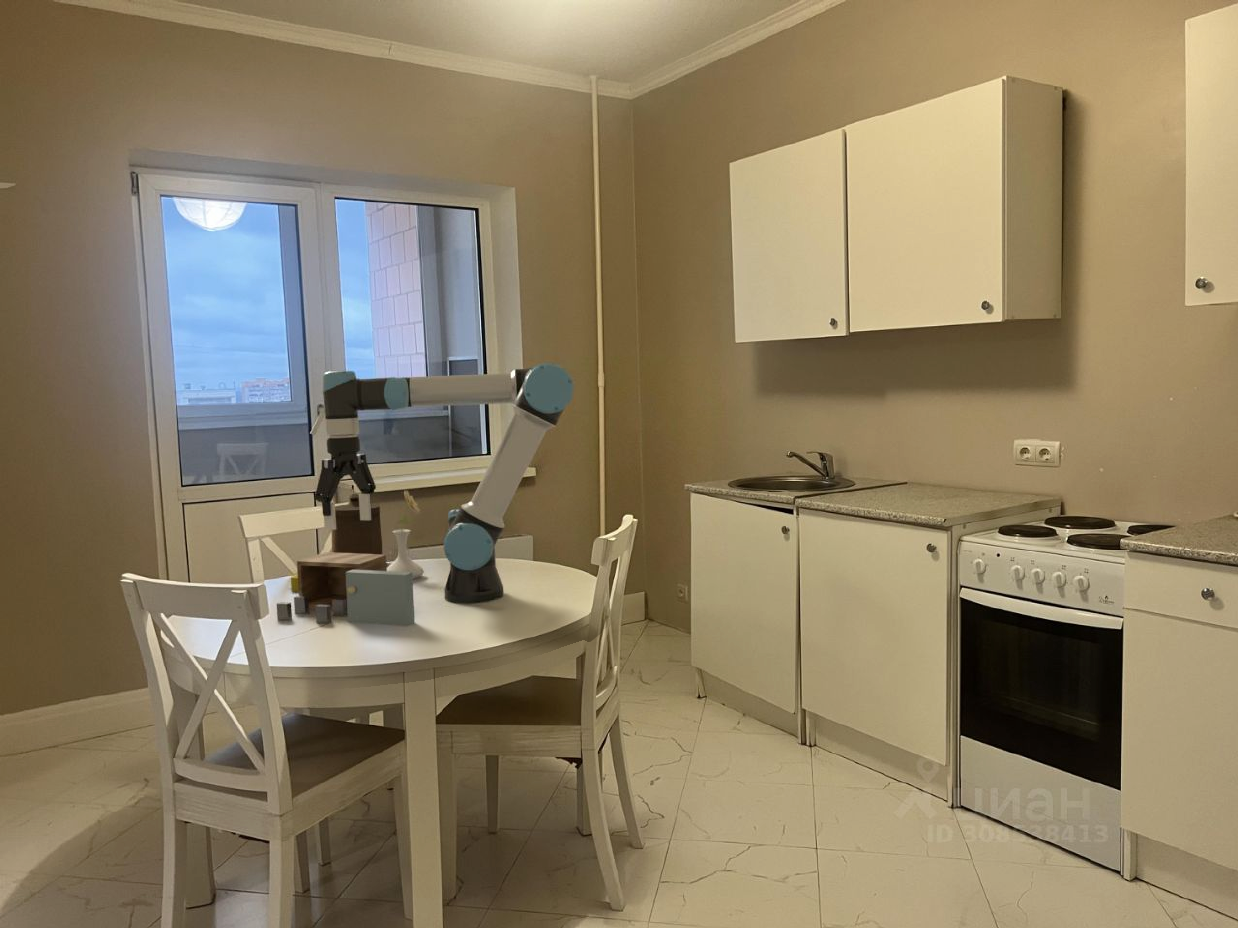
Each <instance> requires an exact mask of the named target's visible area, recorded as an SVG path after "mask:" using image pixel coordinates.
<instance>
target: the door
mask: <svg viewBox="0 0 1238 928" xmlns="http://www.w3.org/2000/svg"><path fill="white" fill-rule="evenodd" d="M413 580H414V578H412V572H393V571H373V570H350V571H347V572H346V590H347V609H348V611H347V622H348V623H356V622H359V623H358V624H370V625H371V624H373V625H374V624H375V625H388V626H402V627H409V626H410V625H413V624H415V623H416V622H415V606H414V605H415V604H414V583H413V582H414V581H413Z"/></svg>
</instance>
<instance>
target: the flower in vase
mask: <svg viewBox="0 0 1238 928" xmlns="http://www.w3.org/2000/svg"><path fill="white" fill-rule="evenodd" d="M403 494H404V498H405V500H406V502H407V505H406V507H405V509H404V511H403V513H402V519H399V520H398V521H397V524H396V526H398V527H401V528H400V529H395V530H392V534H393V535H395V539H396V542H397V546H398V548H397V549H398V552H397V553H398V554H397V557H396V558H395V559H394V560H393V562H392V563H391V564H389V566H388V567H387V571H393V572H412V578H413V579H417V578H419V577H421V576H423V574H424V573H425V571H424V569H423V567H422V566H421V565H419V564H418V563H417V562H415V561H414V560H413V559H412V558H410V557H409V556H408V552H407V551H408V550H407V541H408V536H409V535H410V533H411V529H404V528H403V527H404V525H405V524H406V525H410V519H409V518H408V517H407V516H405V513H406V511H407V509H408V507H409V508H410V509H411V510H412V512H413V513H415V514H416V515H420V512H421V510H420V509H419V507H418V506H419V505H418V503H417V502H416V501H415V500H414V497H413V495H410V493H409V490H404V492H403Z"/></svg>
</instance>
